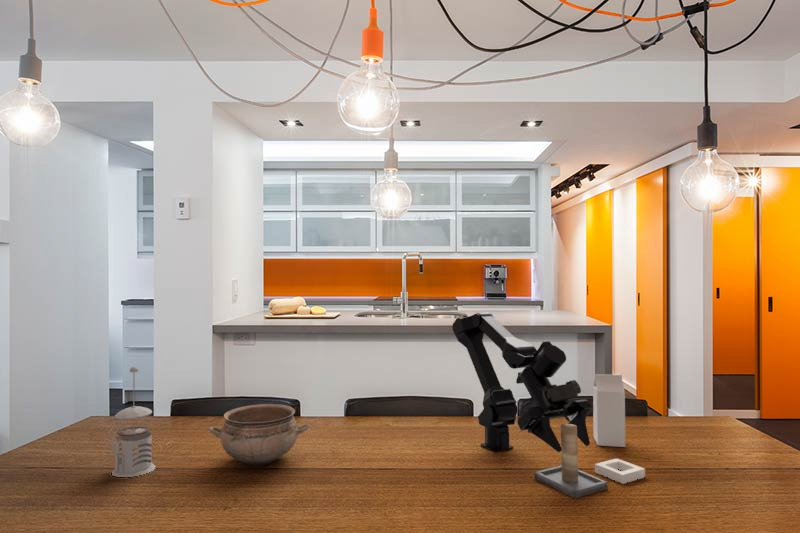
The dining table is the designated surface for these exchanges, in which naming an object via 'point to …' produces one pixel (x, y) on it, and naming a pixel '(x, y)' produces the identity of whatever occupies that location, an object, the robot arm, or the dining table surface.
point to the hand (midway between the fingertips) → (574, 448)
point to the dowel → (569, 453)
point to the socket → (627, 474)
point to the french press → (132, 443)
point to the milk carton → (609, 410)
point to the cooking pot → (259, 433)
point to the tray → (576, 489)
